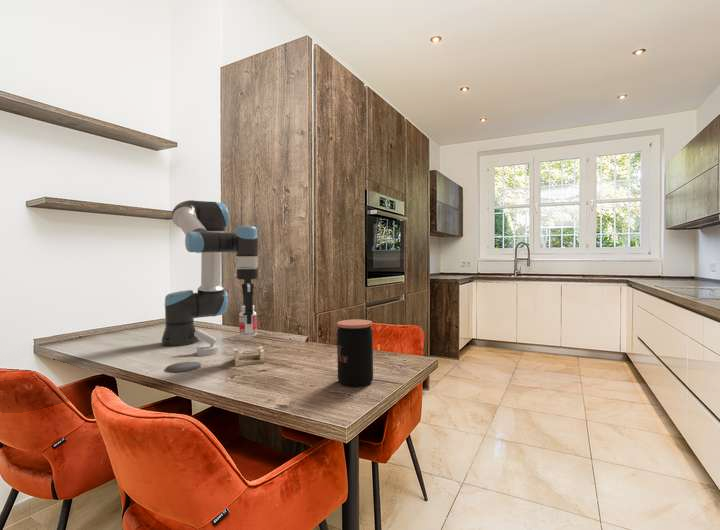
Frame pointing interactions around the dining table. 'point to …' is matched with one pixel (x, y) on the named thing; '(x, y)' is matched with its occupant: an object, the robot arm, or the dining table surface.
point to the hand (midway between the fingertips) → (248, 330)
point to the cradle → (260, 355)
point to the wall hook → (207, 349)
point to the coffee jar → (355, 352)
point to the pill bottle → (242, 323)
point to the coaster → (183, 367)
